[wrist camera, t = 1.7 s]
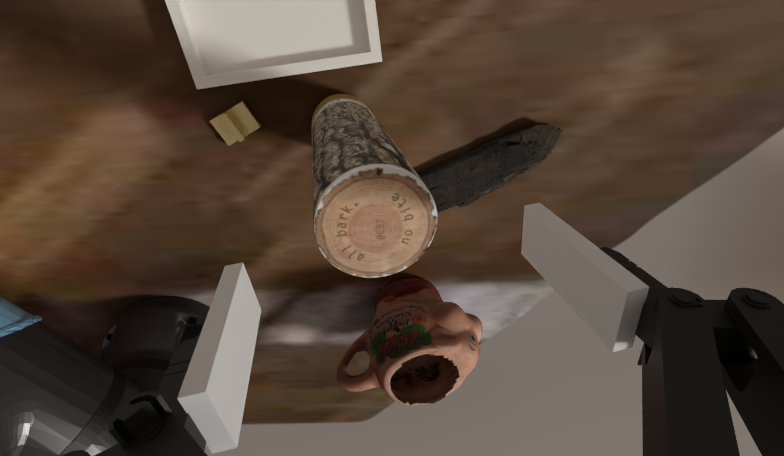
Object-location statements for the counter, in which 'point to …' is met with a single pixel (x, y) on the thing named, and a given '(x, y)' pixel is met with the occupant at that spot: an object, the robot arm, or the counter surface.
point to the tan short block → (235, 123)
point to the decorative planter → (415, 345)
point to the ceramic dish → (273, 37)
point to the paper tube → (365, 193)
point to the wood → (488, 166)
